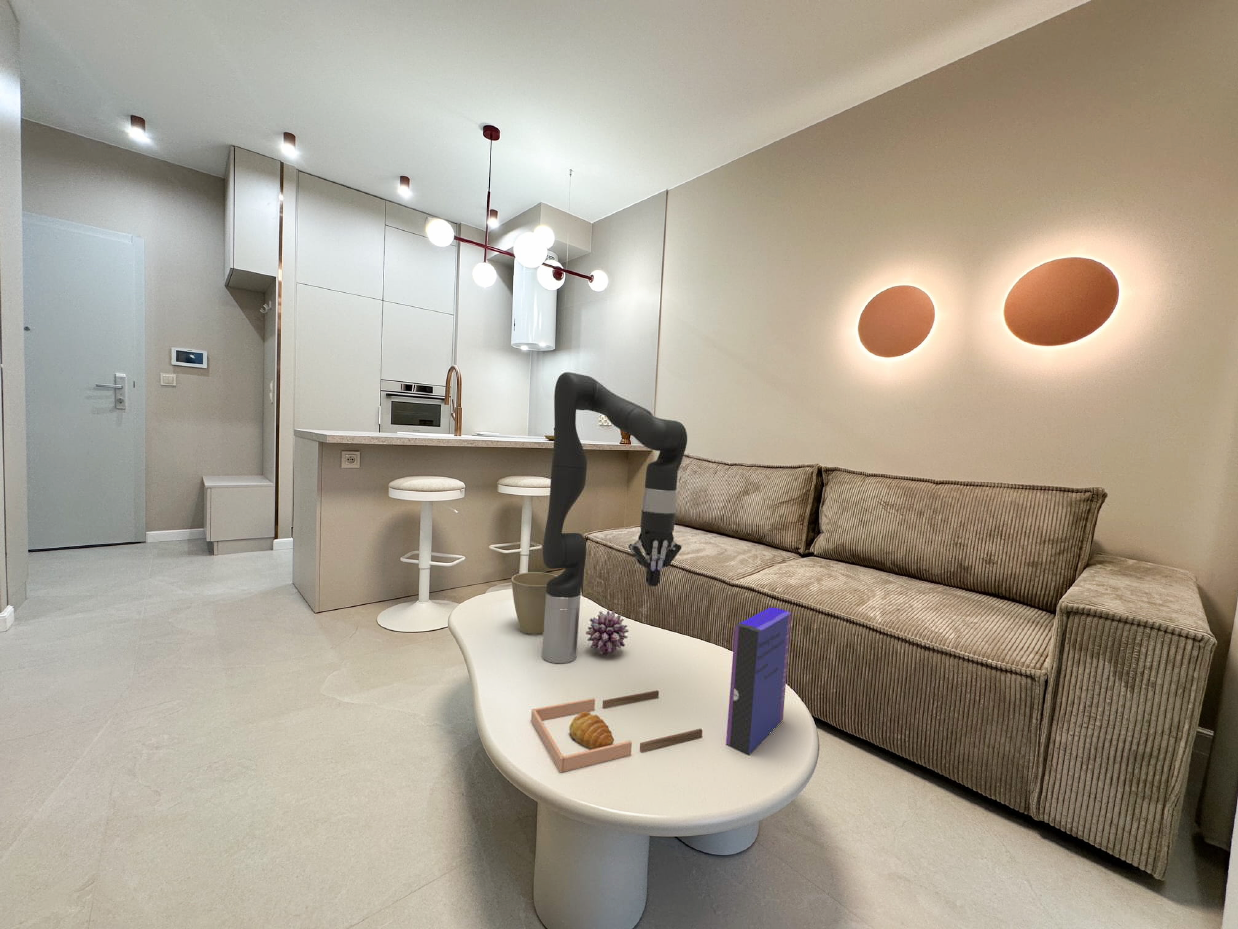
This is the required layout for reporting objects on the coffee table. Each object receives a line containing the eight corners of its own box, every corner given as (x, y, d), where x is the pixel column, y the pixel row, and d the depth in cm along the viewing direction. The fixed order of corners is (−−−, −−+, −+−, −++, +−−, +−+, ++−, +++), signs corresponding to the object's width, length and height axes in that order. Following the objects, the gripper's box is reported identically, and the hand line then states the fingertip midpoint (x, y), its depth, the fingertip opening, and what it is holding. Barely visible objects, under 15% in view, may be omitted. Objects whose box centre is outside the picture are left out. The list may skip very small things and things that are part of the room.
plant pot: (503, 624, 153) (506, 573, 152) (549, 620, 159) (552, 571, 159) (514, 642, 139) (518, 586, 139) (564, 637, 145) (568, 583, 145)
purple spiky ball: (628, 647, 141) (631, 606, 141) (624, 665, 129) (628, 620, 129) (588, 643, 142) (591, 602, 142) (581, 660, 130) (584, 615, 130)
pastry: (622, 746, 94) (623, 727, 94) (594, 760, 89) (596, 739, 89) (591, 724, 101) (592, 705, 101) (564, 735, 96) (565, 716, 96)
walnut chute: (602, 707, 107) (602, 700, 107) (657, 696, 114) (657, 690, 114) (641, 752, 92) (641, 744, 92) (701, 737, 98) (702, 730, 98)
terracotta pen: (530, 721, 100) (531, 709, 100) (593, 709, 106) (594, 698, 106) (560, 772, 85) (561, 759, 85) (630, 755, 91) (631, 742, 91)
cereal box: (761, 712, 110) (770, 606, 109) (782, 720, 107) (791, 611, 106) (725, 744, 97) (735, 624, 96) (748, 755, 94) (758, 631, 93)
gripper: (674, 506, 116) (668, 579, 117) (624, 506, 110) (618, 582, 111) (693, 512, 109) (686, 589, 110) (640, 511, 103) (634, 592, 104)
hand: (652, 585), depth 110 cm, fingers closed
